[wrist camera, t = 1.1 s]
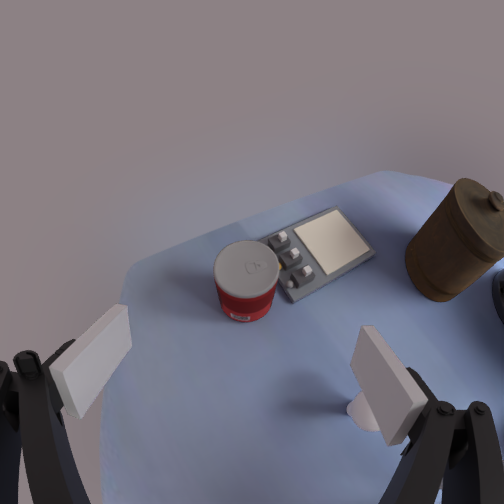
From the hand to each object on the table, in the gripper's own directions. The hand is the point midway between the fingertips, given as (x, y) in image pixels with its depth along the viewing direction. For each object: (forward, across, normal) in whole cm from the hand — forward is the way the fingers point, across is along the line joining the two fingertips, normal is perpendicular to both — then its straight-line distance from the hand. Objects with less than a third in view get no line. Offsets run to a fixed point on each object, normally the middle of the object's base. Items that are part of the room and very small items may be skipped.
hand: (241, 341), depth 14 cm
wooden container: (+32, +36, -3) cm, 48 cm away
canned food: (+27, 0, -9) cm, 28 cm away
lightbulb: (+15, +17, -21) cm, 30 cm away
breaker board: (+33, +12, -2) cm, 35 cm away
